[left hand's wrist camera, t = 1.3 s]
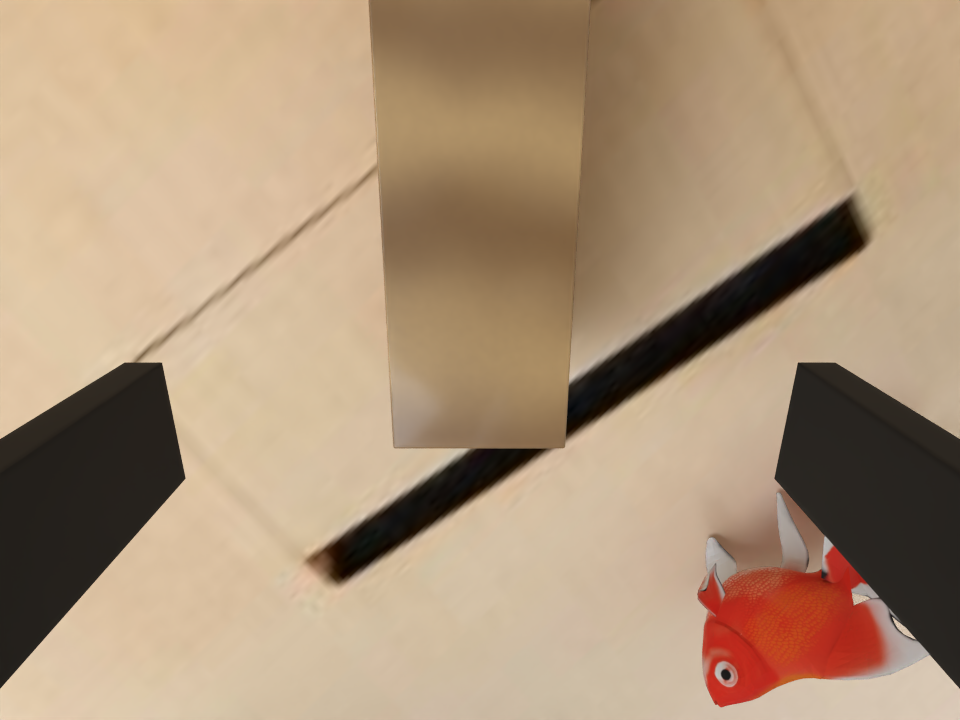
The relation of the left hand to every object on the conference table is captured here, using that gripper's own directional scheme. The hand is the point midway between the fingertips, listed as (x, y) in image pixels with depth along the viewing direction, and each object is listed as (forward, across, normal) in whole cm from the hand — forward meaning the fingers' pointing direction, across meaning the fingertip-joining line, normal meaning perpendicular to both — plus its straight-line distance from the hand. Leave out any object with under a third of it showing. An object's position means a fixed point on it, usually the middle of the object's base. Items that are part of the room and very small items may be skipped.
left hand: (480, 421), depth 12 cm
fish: (+15, -16, +13) cm, 25 cm away
